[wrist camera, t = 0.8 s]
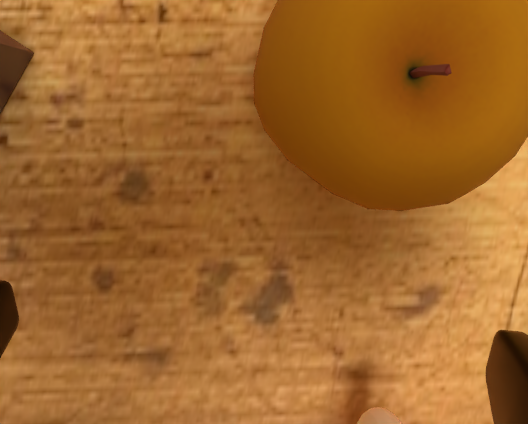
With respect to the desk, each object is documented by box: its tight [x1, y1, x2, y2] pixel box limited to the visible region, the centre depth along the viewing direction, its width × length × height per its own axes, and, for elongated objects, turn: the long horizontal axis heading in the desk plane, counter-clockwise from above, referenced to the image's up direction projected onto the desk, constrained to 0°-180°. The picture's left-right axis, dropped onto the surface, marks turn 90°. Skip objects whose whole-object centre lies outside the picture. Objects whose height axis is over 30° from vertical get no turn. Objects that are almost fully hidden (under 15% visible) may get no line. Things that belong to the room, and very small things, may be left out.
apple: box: [254, 0, 528, 211], centre depth 17 cm, size 9×9×9 cm
